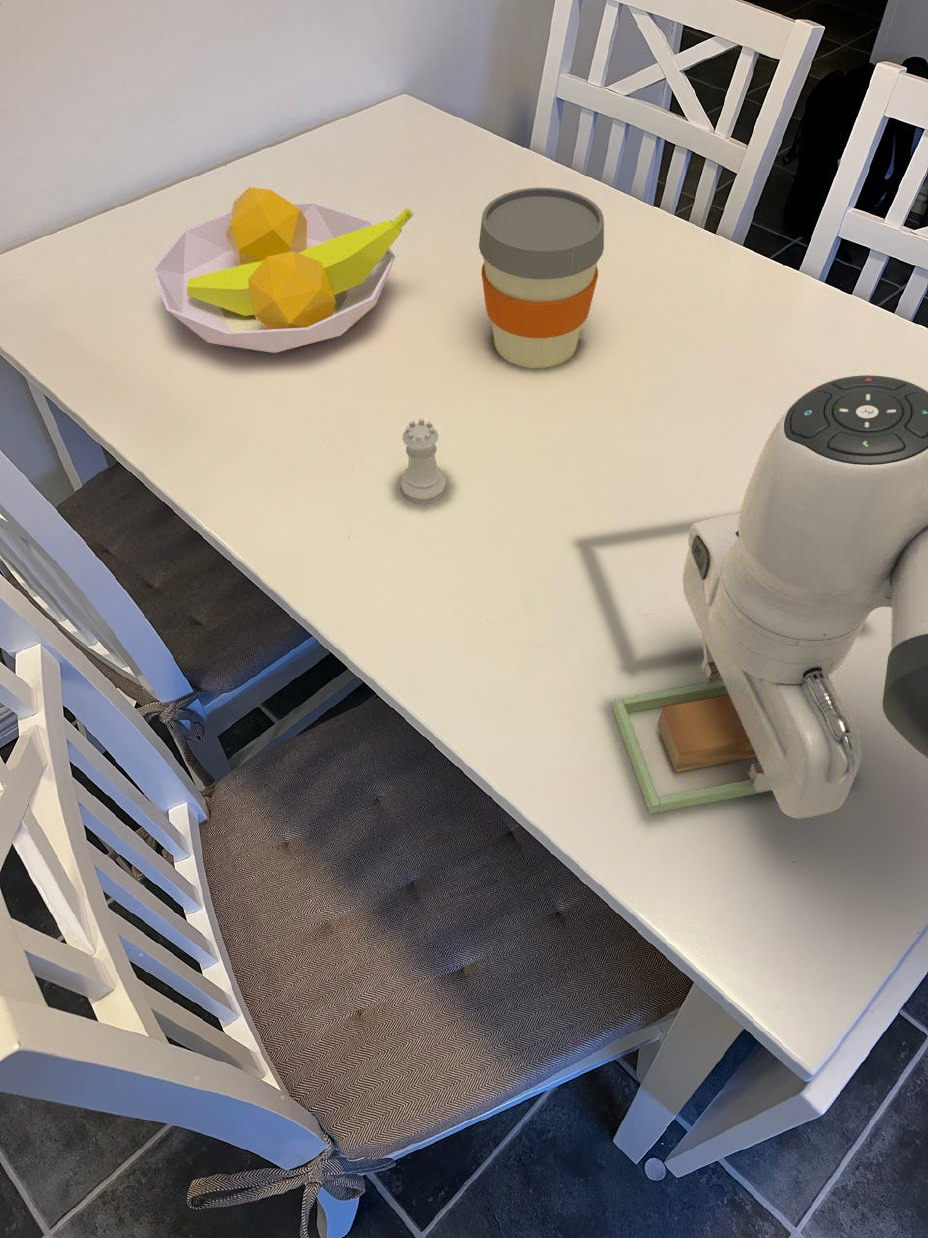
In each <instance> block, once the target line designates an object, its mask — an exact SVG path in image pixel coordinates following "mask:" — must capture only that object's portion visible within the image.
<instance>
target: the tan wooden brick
mask: <svg viewBox="0 0 928 1238" xmlns="http://www.w3.org/2000/svg"><path fill="white" fill-rule="evenodd" d="M656 726H657V728H658V730H659V733H660V735H661V738H662V740H663V744H664V746H665V748H666V751H667V753H668V756H669V758H670V762H671V764H672V766H673V770H674V771H675V773H681V772H686V771H691V770H695V769H696V770H697V769H701V768H707V767H712V766H716V765H717V766H718V765H722V764H727V763H732V762H737V761H742V760H747V759H753V758H757V756H756V753H755V751H754V749H753V747H752V744H751V742H750V740H749V738H748V736H747V733H746V731H745V729H744V727H743V724H742V722H741V720H740V718H739V716H738V713H737V711H736V709H735V707H734V704H733V702H732V700H731V698H730V696H729V694H728V695H722V696H717V697H711V698H706V699H700V700H695V701H689V702H684V703H678V704H673V705H667V706H662V707H661V710H660V714H659V716H658V720H657V724H656Z"/></svg>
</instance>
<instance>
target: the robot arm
mask: <svg viewBox="0 0 928 1238" xmlns="http://www.w3.org/2000/svg"><path fill="white" fill-rule="evenodd" d="M687 542H688V550H687V552H686V557H685V562H684V566H683V573H682V578H681V579H682V587H683V595H684V598H685V600H686V603H687V604H688V607H689V609H690V611H691V613H692V616H693V618H694V619H695V622H696V624H697V627H698V629H699V632H700V633H701V637H702V648H703V649H702V651H703V656H704V657H703V660H702V663H701V669H702V672H703V674H704V677H705V678H706V682H707V683H711V684H712V683H716V682H717V681H719V682H724V684H725V687H726V689H727V691H728V693H729V694H728V695H729V696H730V698H731V700H732V702H733V704H734V707H735V709H736V711H737V713H738V716H739V718H740V720H741V722H742V724H743V727H744V729H745V731H746V733H747V736H748V738H749V740H750V742H751V744H752V747H753V749H754V751H755V753H756V756H757V757H756V758H757V760H758V762H753V763H751V766H750V767H749V770H748V771H747V774H748V776H749V780H751V781H752V784H753V787H754V789H755V791H756V792H762V793H764V792H763V791H767V792H769V791H768V790H772V793H773V796H774V798H775V800H776V802H777V804H778V807H779V809H780V811H781V812H782V813H783V814H784V815H786V816H788V817H790V818H792V819H808V818H813V817H818V816H822V815H823V816H824V815H827V814H830V813H832V812H835V811H837V810H839V809H840V808H841V807H842V806H843V804H844V803H845V801H846V799H847V797H848V796H849V793H850V791H851V789H852V786H853V784H854V781H855V779H856V776H857V773H858V771H859V767H860V764H861V759H862V742H861V739H860V735H859V731H858V730H857V728H856V727H857V726H856V725H855V723H854V721H853V719H852V717H851V715H850V714H849V712H848V709H847V708H846V706H845V704H844V702H843V700H842V699H841V696H840V695H839V693H838V691H837V689H836V688H835V686H834V684H833V682H832V680H831V678H830V675H831V674H833V673H834V672H835V671H837V670H838V669H839V668H840V667H841V665H843V663H844V662H845V660H846V658H847V657H848V654H849V653H850V651H851V649H852V647H853V646H854V644H855V641H856V639H857V638H858V636H859V635H860V632H861V630H862V628H863V627H864V624H865V623H866V621H867V619H868V617H869V615H870V614H871V613H872V612H873V611H874V610H876V609H879V608H891V615H890V616H891V618H890V619H891V620H890V622H891V624H890V651H889V654H888V656H887V662H886V671H885V672H886V673H885V679H884V685H883V686H884V687H883V695H882V703H881V704H882V710H883V714H884V716H885V717H886V719H887V721H888V722H889V724H891V726H892V727H893V728H894V729H895V730H896V731H897V733H898V734H900V736H901V737H902V738H903V739H904V740H905V741H906V742H907V743H908V744H909V745H910V746H912V748H914V749H915V750H916V751H917V752H919V753H920V754H921V755H922V756H924V757H925V758H927V759H928V390H927V389H925V388H923V387H921V386H920V385H917V384H915V383H912V382H911V381H910V382H909V381H908V380H903V379H900V378H895V377H890V376H885V375H884V376H883V375H869V374H867V375H866V374H865V375H862V374H861V375H851V376H845V377H840V378H836V379H832V380H830V381H826V382H824V383H821V384H819V385H818V386H815V387H814V388H813V389H811V390H809V391H807V392H806V393H804V394H803V395H802V396H800V397H799V398H798V399H797V400H796V401H795V402H793V403H792V405H790V406H789V407H788V408H787V410H786V411H785V412H784V413H783V415H782V416H781V417H780V418H779V420H778V421H777V423H776V424H775V426H774V428H773V429H772V430H771V433H770V434H769V436H768V438H767V440H766V441H765V444H764V446H763V448H762V450H761V453H760V454H759V457H758V459H757V462H756V463H755V466H754V469H753V471H752V474H751V476H750V479H749V481H748V485H747V487H746V490H745V494H744V496H743V499H742V503H741V506H740V510H739V513H734V514H727V515H722V516H717V517H712V518H708V519H704V520H700V521H697V522H693V523H692V524H691V525H690V528H689V533H688V541H687Z"/></svg>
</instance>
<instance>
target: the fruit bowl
mask: <svg viewBox="0 0 928 1238" xmlns="http://www.w3.org/2000/svg"><path fill="white" fill-rule="evenodd" d="M413 216H414V213H413V212H412V211H411V210H410V208H406V207H405V208H404V209H403V211H402V212H400V214H398V216H396V218H395V219H394V220H392V219H389V220H385V221H381V222H379V223H376V224H374V223H373V221H372V220H369V219H367V218H363V217H360V216H357V215H354V214H351V213H347V212H345V211H342V210H338V209H335V208H334V207H330V206H326V205H323V204H321V203H317V202H302V203H301V202H300V203H291V202H290V201H288V200H286V199H285V198H284V197H283V196H281V195H279V194H278V193H277V192H275V191H273V190H272V189H268V188H258V187H250V186H249V187H248V188H247V189H246V190H245V191H243V193H242V194H240V195H239V196H238V198H236V199H235V200H234V201H233V203H232V207H231V211H230V212H226V213H224V214H222V215H220V216H217V217H215V218H212V219H209V220H207V221H204V222H202V223H198V224H196V225H194V226H191V227H189V228H187V229H184V230H182V232H181V233H180V234H179V236H178V237H177V238H176V239H175V241H174V242H173V243H172V244H171V246H170V247H169V248H168V249H167V251H166V252H165V253H164V254H163V255H162V257H161V258H160V259H159V261H158V262H157V263H156V264H155V265H154V267H153V268H152V269H151V270H152V273H153V277H154V279H155V282H156V284H157V288H158V290H159V293H160V296H161V298H162V300H163V303H164V307H165V310H166V311H167V312H169V313H170V314H171V315H172V316H173V317H175V318H176V319H177V320H178V321H180V322H181V323H183V324H184V325H185V326H186V327H187V328H189V329H190V330H191V331H192V332H194V333H195V334H196V335H197V336H198V337H200V338H202V339H203V340H204V341H205V342H206V343H208V344H213V345H221V346H226V347H227V346H228V347H232V348H240V349H247V350H253V351H259V352H266V353H272V354H276V353H277V354H278V353H280V352H284V351H287V350H293V349H295V348H299V347H303V346H306V345H310V344H315V343H318V342H321V341H325V340H329V339H333V338H337V337H339V336H340V337H341V336H342V335H343V334H344V333H345V332H347V331H348V330H349V329H350V328H351V327H352V326H354V324H356V323H357V322H358V321H359V320H360V319H361V318H362V317H364V316H365V315H366V314H368V312H369V311H371V310H372V309H373V308H374V307H375V306H376V305H377V303H378V301H379V298H380V296H381V293H382V290H383V288H384V286H385V285H386V282H387V278H388V276H389V274H390V272H391V269H392V267H393V264H394V261H395V259H396V255H395V254H394V252H393V251H392V250H391V247H392V245H393V244H394V243H395V241H396V240H397V239H398V237H399V236H400V235H401V234H402V233H401V232H402V231H403V230H402V228H403V227H404V226H405V225H406V224H407V223H408V221H410V219H412V217H413ZM345 291H346V297H345V299H344V301H343V302H342V305H341V306H340V308H339V309H338V311H337V313H335V314H334V310H335V307H336V304H337V301H336V298H335V296H336V295H339V294H341V293H342V292H343V293H344V292H345ZM222 309H224V310H227V311H230V312H232V313H236V314H238V315H241V316H243V317H249V316H254V317H255V320H256V321H257V322H258V323H259V324H260V325H262V326H263V327H264V328H265V329H256V330H255V329H253V330H236V331H231V330H230V327H229V325H228V323H227V320H226V318H225V315H224V313H223V311H222Z"/></svg>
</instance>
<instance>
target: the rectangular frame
mask: <svg viewBox="0 0 928 1238" xmlns="http://www.w3.org/2000/svg"><path fill="white" fill-rule="evenodd" d="M726 695H729V693H728V691H727V689H726V687H725V684H724V682H719V681H717V682H716V683H712V684H711V683H709V682H706V683H705V682H704V683H700V684H694V685H688V686H684V687H678V688H677V687H676V688H673V689H667V690H661V691H655V692H650V693H645V694H639V695H633V696H632V695H631V696H627V697H622V698H616V699H615V700H614V701H613V702H614V703H613V707H612V711H613V713H614V717H615V719H616V722H617V725H618V728H619V730H620V734H621V736H622V739H623V742H624V745H625V748H626V750H627V754H628V756H629V759H630V761H631V764H632V767H633V770H634V774H635V777H636V779H637V782H638V785H639V788H640V790H641V794H642V796H643V799H644V802H645V805H646V807H647V810H648V813H649V815H653V814H657V813H663V812H669V811H674V810H679V809H685V808H688V807H695V806H699V805H700V806H701V805H705V804H710V803H715V802H720V801H725V800H731V799H735V798H736V799H737V798H740V797H745V796H746V797H747V796H751V795H757V794H761V793H766V792H771V791H772V790H768V791H763V792H756V791H755V789H754V787H753V784H752V781H751V779H746V780H741V781H735V782H731V783H726V784H721V785H715V786H710V787H705V788H699V789H694V790H690V791H684V792H678V793H672V794H668V795H663V796H659V795H658V794H657V791H656V788H655V785H654V783H653V780H652V777H651V775H650V772H649V769H648V766H647V763H646V760H645V757H644V755H643V753H642V749H641V747H640V745H639V744H640V743H639V741H638V738H637V736H636V733H635V730H634V727H633V725H632V721H631V719H630V716H629V715H628V713H633V712H639V711H644V710H649V709H656V708H662V707H667V706H672V705H678V704H683V703H688V702H694V701H699V700H705V699H710V698H715V697H721V696H726ZM772 792H773V791H772Z"/></svg>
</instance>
